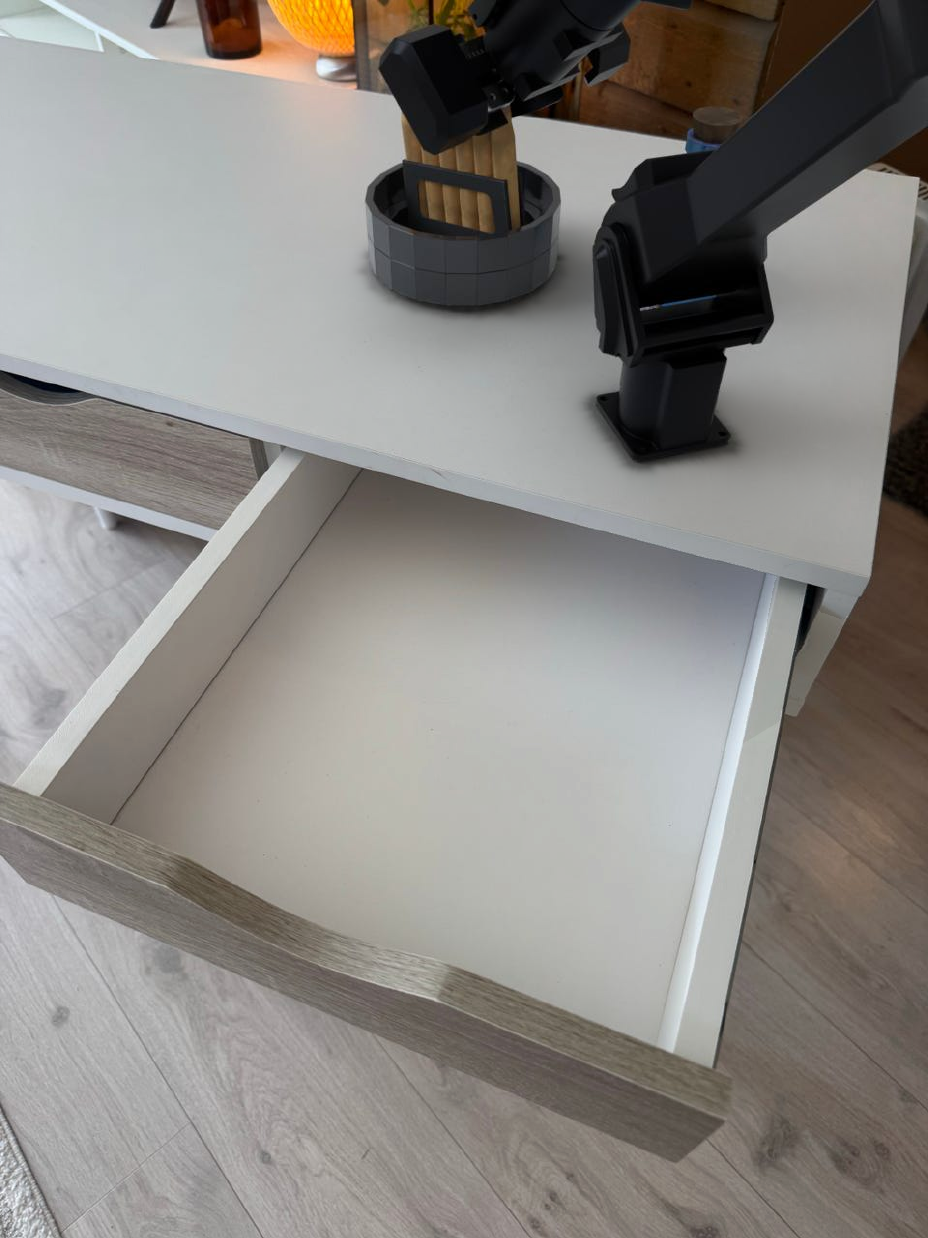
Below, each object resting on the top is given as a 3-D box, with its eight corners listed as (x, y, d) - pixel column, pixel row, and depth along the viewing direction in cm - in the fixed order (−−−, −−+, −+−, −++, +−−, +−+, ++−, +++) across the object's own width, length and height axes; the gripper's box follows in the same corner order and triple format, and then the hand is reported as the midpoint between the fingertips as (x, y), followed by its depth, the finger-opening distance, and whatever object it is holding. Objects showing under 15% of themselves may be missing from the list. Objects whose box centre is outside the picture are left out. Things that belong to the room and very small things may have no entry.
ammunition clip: (528, 246, 68) (518, 59, 60) (511, 255, 67) (499, 66, 59) (425, 220, 74) (403, 46, 66) (408, 228, 73) (384, 53, 65)
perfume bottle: (680, 317, 67) (714, 142, 58) (626, 280, 70) (650, 109, 61) (744, 294, 69) (786, 121, 60) (689, 259, 73) (720, 91, 64)
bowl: (582, 296, 69) (590, 223, 65) (396, 326, 66) (392, 252, 62) (519, 212, 78) (522, 143, 74) (353, 235, 75) (347, 165, 71)
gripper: (617, -187, 56) (477, -11, 69) (392, -138, 47) (280, 54, 60) (703, -4, 58) (551, 132, 71) (505, 76, 49) (373, 215, 62)
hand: (446, 130), depth 66 cm, fingers closed on ammunition clip, 2 cm apart
